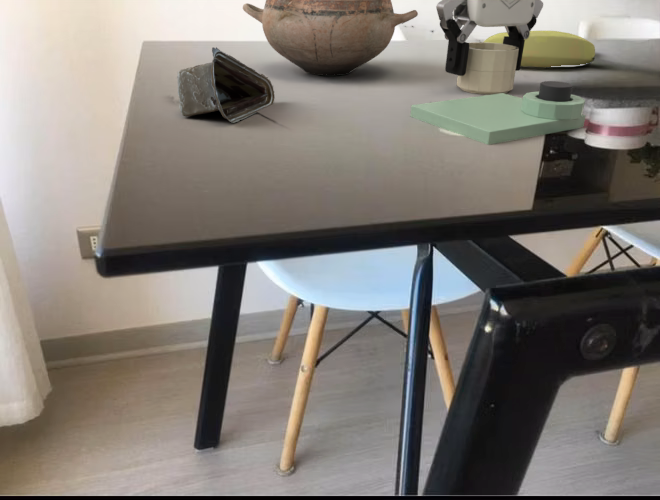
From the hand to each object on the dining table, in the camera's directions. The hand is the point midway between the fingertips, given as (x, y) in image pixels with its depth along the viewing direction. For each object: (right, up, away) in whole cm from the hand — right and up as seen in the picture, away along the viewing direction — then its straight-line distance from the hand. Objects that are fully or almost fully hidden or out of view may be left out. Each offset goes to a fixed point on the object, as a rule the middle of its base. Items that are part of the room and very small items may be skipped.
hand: (482, 71), depth 82 cm
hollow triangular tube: (-32, -8, -12) cm, 35 cm away
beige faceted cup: (0, -2, +1) cm, 2 cm away
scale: (-2, -10, -14) cm, 17 cm away
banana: (+12, +7, +20) cm, 25 cm away
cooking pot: (-20, +3, +10) cm, 23 cm away
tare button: (+4, -8, -16) cm, 18 cm away
